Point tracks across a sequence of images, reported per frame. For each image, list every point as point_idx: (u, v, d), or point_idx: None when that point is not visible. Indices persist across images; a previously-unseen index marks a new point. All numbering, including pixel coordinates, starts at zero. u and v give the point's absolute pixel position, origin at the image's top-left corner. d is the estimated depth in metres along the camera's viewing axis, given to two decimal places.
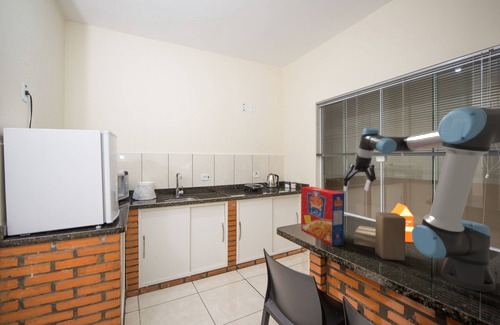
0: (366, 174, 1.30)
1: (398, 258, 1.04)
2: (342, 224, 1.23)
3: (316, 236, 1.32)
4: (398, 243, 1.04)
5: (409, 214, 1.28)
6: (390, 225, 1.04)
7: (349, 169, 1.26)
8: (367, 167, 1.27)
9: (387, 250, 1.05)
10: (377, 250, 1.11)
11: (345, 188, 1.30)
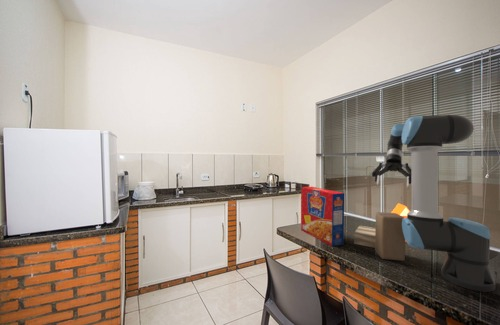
0: (402, 173, 1.24)
1: (398, 258, 1.04)
2: (342, 224, 1.23)
3: (316, 236, 1.32)
4: (398, 243, 1.04)
5: None
6: (390, 225, 1.04)
7: None
8: (399, 164, 1.27)
9: (387, 250, 1.05)
10: (377, 250, 1.11)
11: None
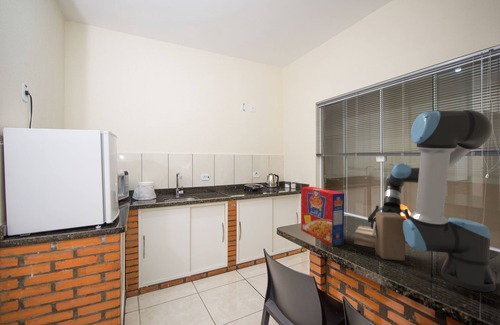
0: None
1: (398, 258, 1.04)
2: (342, 224, 1.23)
3: (316, 236, 1.32)
4: (398, 243, 1.04)
5: (409, 214, 1.28)
6: (390, 225, 1.04)
7: None
8: (397, 210, 1.13)
9: (387, 250, 1.05)
10: (377, 250, 1.11)
11: (373, 231, 1.12)
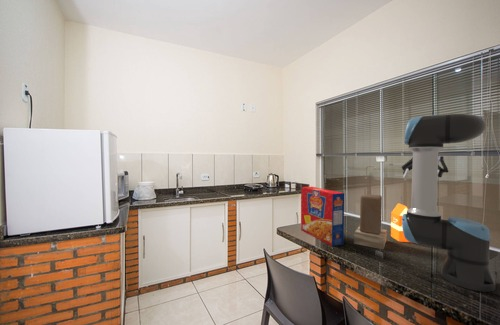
0: None
1: (374, 232, 1.22)
2: (342, 224, 1.23)
3: (316, 236, 1.32)
4: (373, 219, 1.22)
5: None
6: (366, 203, 1.23)
7: None
8: None
9: (364, 224, 1.24)
10: None
11: None
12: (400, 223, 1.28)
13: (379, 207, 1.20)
